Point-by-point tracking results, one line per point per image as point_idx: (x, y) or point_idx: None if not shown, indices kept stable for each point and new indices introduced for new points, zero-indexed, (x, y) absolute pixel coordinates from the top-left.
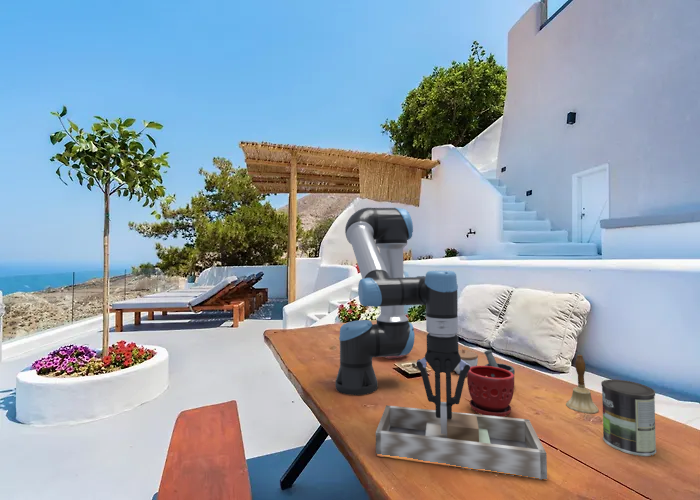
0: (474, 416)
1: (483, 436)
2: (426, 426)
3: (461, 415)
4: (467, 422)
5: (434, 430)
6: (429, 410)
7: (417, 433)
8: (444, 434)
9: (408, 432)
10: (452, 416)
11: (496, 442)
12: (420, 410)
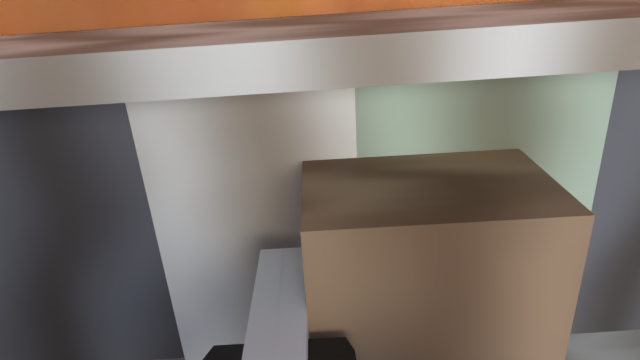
0: (571, 241)
1: (561, 169)
2: (136, 147)
3: (444, 252)
4: (482, 358)
5: (209, 188)
6: (97, 77)
7: (89, 126)
8: (287, 220)
9: (25, 134)
10: (357, 295)
11: (631, 87)
12: (7, 105)
